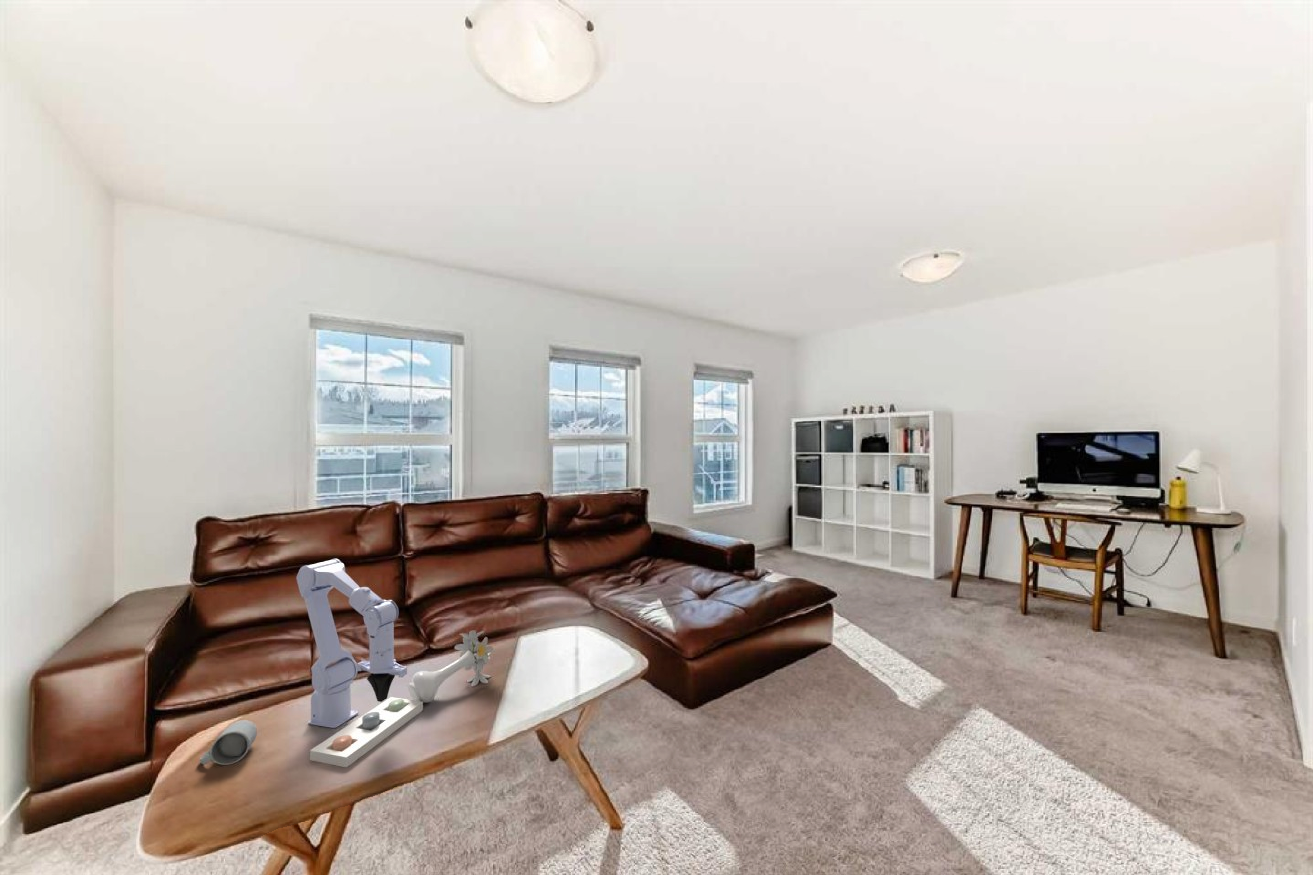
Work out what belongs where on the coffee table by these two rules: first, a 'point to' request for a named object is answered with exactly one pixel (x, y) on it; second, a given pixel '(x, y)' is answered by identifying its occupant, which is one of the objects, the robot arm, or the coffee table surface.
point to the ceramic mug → (231, 743)
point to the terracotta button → (342, 743)
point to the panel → (365, 734)
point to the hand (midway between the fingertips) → (382, 699)
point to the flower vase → (453, 668)
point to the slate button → (370, 721)
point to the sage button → (396, 705)
